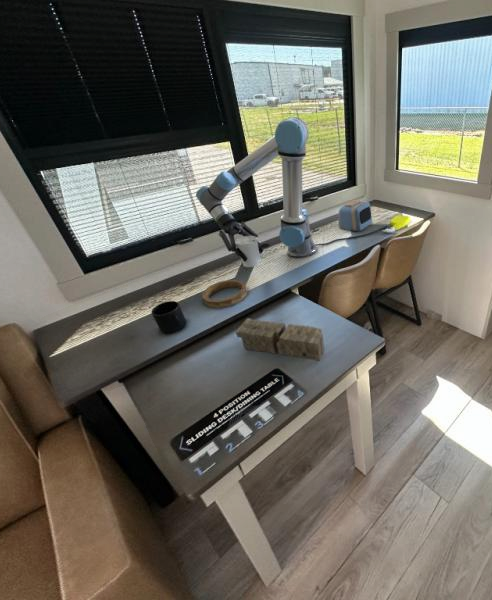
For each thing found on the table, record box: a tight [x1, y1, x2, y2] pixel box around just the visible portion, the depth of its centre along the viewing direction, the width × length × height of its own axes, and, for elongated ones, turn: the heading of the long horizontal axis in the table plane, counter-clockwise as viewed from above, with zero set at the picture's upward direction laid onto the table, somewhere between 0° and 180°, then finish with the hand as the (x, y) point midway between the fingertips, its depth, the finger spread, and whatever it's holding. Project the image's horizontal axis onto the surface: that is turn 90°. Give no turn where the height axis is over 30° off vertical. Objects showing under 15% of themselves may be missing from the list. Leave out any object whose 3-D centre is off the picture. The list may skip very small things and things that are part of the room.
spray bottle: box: [382, 214, 411, 234], centre depth 194 cm, size 3×11×24 cm
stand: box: [202, 279, 248, 309], centre depth 138 cm, size 18×18×3 cm
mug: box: [150, 300, 188, 335], centre depth 119 cm, size 9×12×9 cm
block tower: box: [235, 317, 325, 361], centre depth 106 cm, size 8×8×29 cm
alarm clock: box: [338, 199, 373, 232], centre depth 195 cm, size 16×16×16 cm
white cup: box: [235, 236, 262, 268], centre depth 147 cm, size 10×10×12 cm
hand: (254, 256), depth 146 cm, fingers closed on white cup, 9 cm apart
